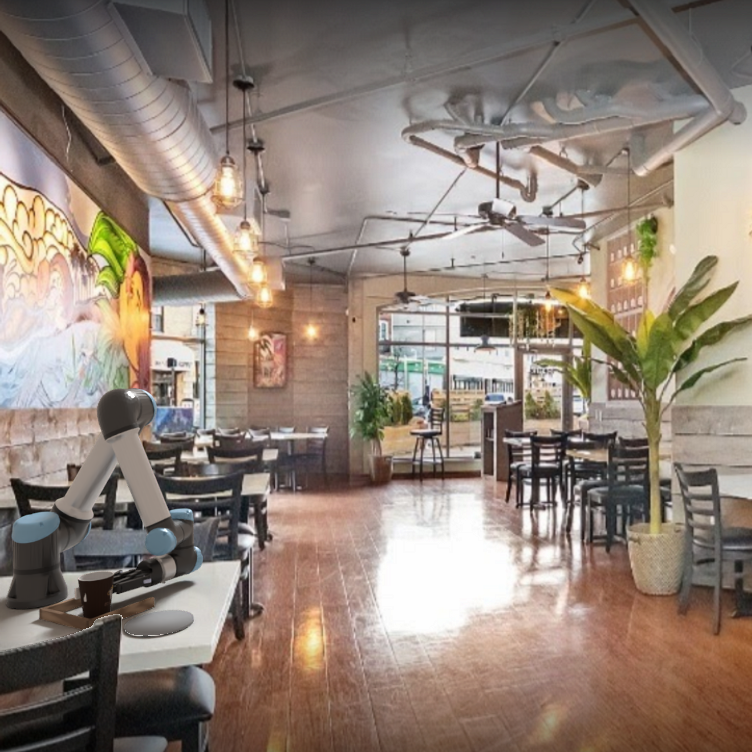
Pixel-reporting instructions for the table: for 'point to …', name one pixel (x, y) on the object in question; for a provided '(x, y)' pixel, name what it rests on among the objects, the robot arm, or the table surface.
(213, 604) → the table surface
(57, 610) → the brown wooden open frame
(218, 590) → the table surface
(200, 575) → the table surface
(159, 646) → the table surface
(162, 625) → the mat
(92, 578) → the coffee mug
